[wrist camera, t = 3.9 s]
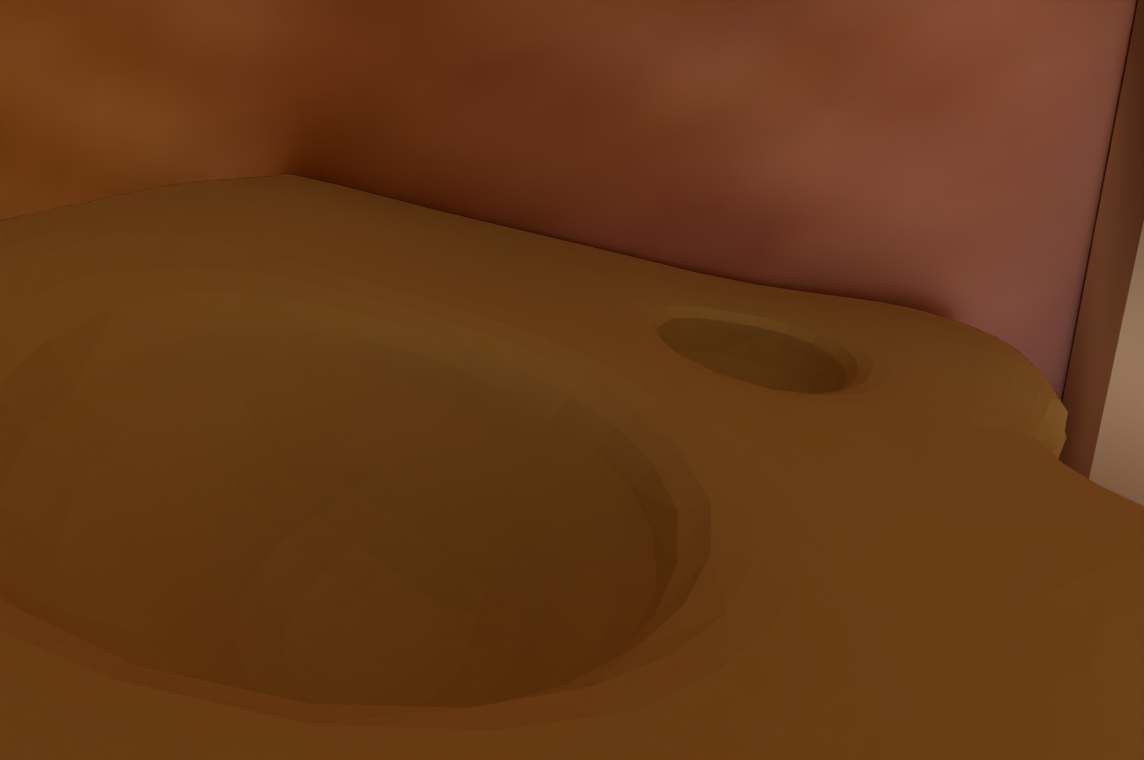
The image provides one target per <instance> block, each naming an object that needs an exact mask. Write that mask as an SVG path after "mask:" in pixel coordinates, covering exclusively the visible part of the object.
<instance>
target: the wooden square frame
mask: <svg viewBox="0 0 1144 760" xmlns="http://www.w3.org/2000/svg"><path fill="white" fill-rule="evenodd" d="M1062 404H1063V405H1064V407H1065V408H1066V410H1067V412H1068V415H1067V421H1066V426H1065V434H1066V440H1065V443H1064V445H1063V448H1062V450H1061V453H1060V456H1059V458H1058V459H1059V460H1060V461H1061V462H1062V463H1063V464H1065V465H1067V466H1068V467H1070V468H1071V469H1073V470H1075V471H1076V472H1078V473H1080V474H1081V475H1083V476H1085V477H1086V478H1088V479H1090V480H1091V481H1093V482H1094V483H1096V484H1098V485H1100V486H1102V487H1104V488H1106V489H1108V490H1110V491H1112V492H1115V493H1117V494H1119V495H1121V496H1123V497H1125V498H1127V499H1129V500H1132V501H1134V502H1136V503H1138V504H1140V505H1142V506H1144V0H1138V4H1137V10H1136V15H1135V20H1134V25H1133V31H1132V36H1131V41H1130V47H1129V52H1128V57H1127V62H1126V68H1125V73H1124V78H1123V84H1122V89H1121V94H1120V99H1119V105H1118V110H1117V115H1116V121H1115V126H1114V131H1113V137H1112V142H1111V147H1110V152H1109V158H1108V163H1107V168H1106V174H1105V179H1104V184H1103V189H1102V195H1101V200H1100V205H1099V211H1098V216H1097V221H1096V226H1095V232H1094V237H1093V242H1092V248H1091V253H1090V258H1089V263H1088V269H1087V274H1086V279H1085V285H1084V290H1083V295H1082V300H1081V306H1080V311H1079V316H1078V322H1077V327H1076V332H1075V338H1074V343H1073V348H1072V353H1071V359H1070V364H1069V369H1068V375H1067V380H1066V385H1065V390H1064V396H1063V401H1062Z"/></svg>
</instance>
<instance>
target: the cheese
mask: <svg viewBox="0 0 1144 760" xmlns="http://www.w3.org/2000/svg"><path fill="white" fill-rule="evenodd" d="M1067 415H1068V412H1067V410H1066V408H1065V407H1064V405H1063V404H1062V402H1061V401H1060V399H1059V398H1058V396H1057V395H1056V393H1055V392H1054V390H1053V388H1052V387H1051V385H1050V384H1049V382H1048V381H1047V379H1046V378H1045V377H1044V376H1043V374H1042V373H1041V372H1040V371H1039V370H1038V369H1037V368H1036V367H1034V366H1033V365H1032V364H1031V363H1030V362H1029V361H1028V360H1027V359H1026V358H1025V357H1024V356H1023V355H1022V354H1021V353H1020V352H1019V351H1018V350H1016V349H1015V348H1013V347H1011V346H1010V345H1008V344H1006V343H1005V342H1003V341H1001V340H1000V339H998V338H997V337H994V336H992V335H990V334H988V333H986V332H983V331H981V330H978V329H976V328H973V327H971V326H969V325H966V324H963V323H960V322H957V321H954V320H951V319H948V318H945V317H941V316H938V315H935V314H932V313H929V312H925V311H921V310H917V309H913V308H909V307H904V306H900V305H894V304H889V303H883V302H877V301H870V300H864V299H857V298H849V297H842V296H834V295H827V294H819V293H811V292H804V291H796V290H790V289H783V288H777V287H770V286H764V285H757V284H751V283H746V282H741V281H736V280H731V279H727V278H722V277H717V276H712V275H707V274H702V273H697V272H692V271H688V270H684V269H680V268H676V267H672V266H668V265H664V264H660V263H656V262H652V261H648V260H644V259H640V258H636V257H632V256H628V255H624V254H620V253H615V252H611V251H607V250H603V249H598V248H594V247H590V246H586V245H581V244H577V243H573V242H569V241H564V240H560V239H556V238H552V237H547V236H543V235H539V234H535V233H531V232H526V231H522V230H518V229H514V228H510V227H505V226H501V225H497V224H493V223H488V222H484V221H480V220H476V219H472V218H467V217H463V216H459V215H455V214H450V213H446V212H442V211H438V210H434V209H430V208H426V207H423V206H419V205H415V204H411V203H407V202H403V201H399V200H396V199H392V198H388V197H384V196H380V195H376V194H372V193H368V192H365V191H361V190H357V189H353V188H349V187H345V186H341V185H337V184H333V183H328V182H324V181H319V180H314V179H310V178H305V177H301V176H297V175H293V174H281V175H276V176H270V177H252V178H237V179H222V180H207V181H198V182H191V183H184V184H177V185H170V186H163V187H158V188H153V189H148V190H144V191H139V192H134V193H129V194H124V195H119V196H114V197H109V198H104V199H99V200H94V201H89V202H84V203H80V204H75V205H70V206H65V207H61V208H56V209H51V210H47V211H42V212H37V213H33V214H28V215H23V216H19V217H14V218H9V219H5V220H1V221H0V760H1144V506H1142V505H1140V504H1138V503H1136V502H1134V501H1132V500H1129V499H1127V498H1125V497H1123V496H1121V495H1119V494H1117V493H1115V492H1112V491H1110V490H1108V489H1106V488H1104V487H1102V486H1100V485H1098V484H1096V483H1094V482H1093V481H1091V480H1090V479H1088V478H1086V477H1085V476H1083V475H1081V474H1080V473H1078V472H1076V471H1075V470H1073V469H1071V468H1070V467H1068V466H1067V465H1065V464H1063V463H1062V462H1061V461H1060V460H1059V459H1058V458H1059V456H1060V453H1061V450H1062V448H1063V445H1064V443H1065V440H1066V434H1065V426H1066V421H1067Z"/></svg>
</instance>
